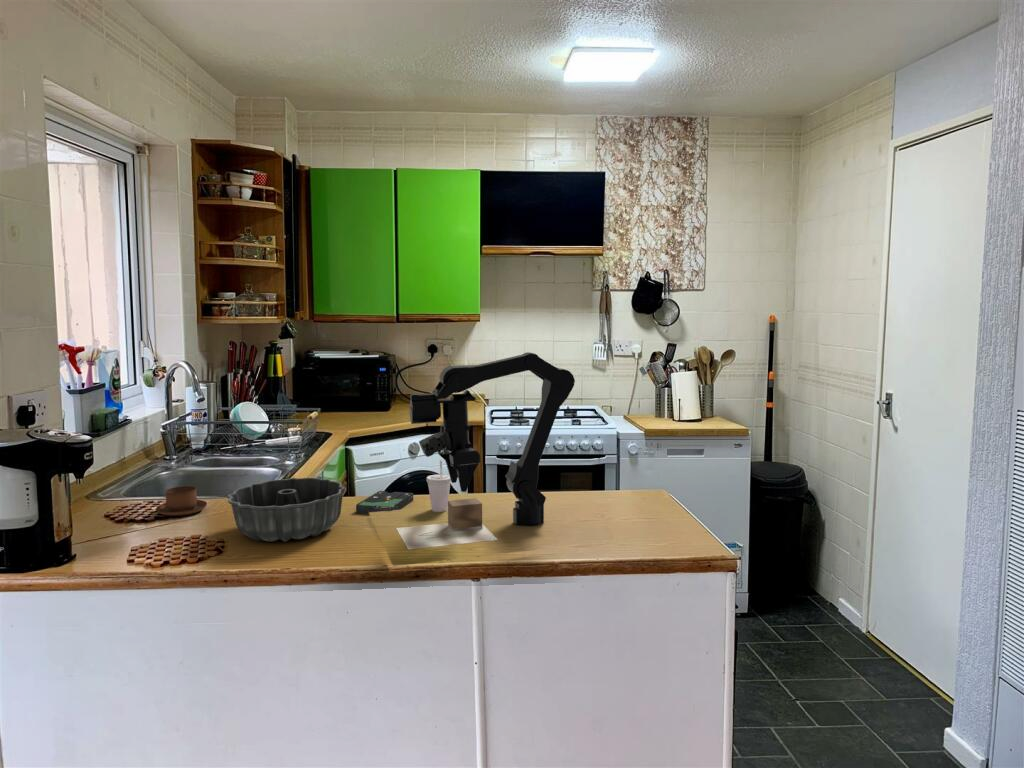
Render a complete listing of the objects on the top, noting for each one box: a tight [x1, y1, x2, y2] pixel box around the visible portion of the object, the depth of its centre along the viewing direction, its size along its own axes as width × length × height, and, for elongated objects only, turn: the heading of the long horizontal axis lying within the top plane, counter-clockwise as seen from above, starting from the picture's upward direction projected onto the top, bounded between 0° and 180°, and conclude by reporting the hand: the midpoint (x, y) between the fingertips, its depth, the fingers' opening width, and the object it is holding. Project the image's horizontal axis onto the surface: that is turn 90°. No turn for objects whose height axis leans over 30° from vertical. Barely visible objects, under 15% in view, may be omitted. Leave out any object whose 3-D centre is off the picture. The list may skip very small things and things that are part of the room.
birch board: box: [396, 522, 498, 551], centre depth 169 cm, size 20×16×1 cm
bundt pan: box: [227, 477, 346, 543], centre depth 175 cm, size 26×26×10 cm
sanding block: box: [447, 497, 483, 532], centre depth 173 cm, size 7×5×6 cm
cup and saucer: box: [155, 485, 208, 517], centre depth 192 cm, size 12×12×6 cm
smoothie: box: [426, 459, 452, 513], centre depth 188 cm, size 6×6×14 cm
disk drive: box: [355, 490, 414, 515], centre depth 196 cm, size 10×3×15 cm
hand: (458, 487), depth 172 cm, fingers open, 9 cm apart
